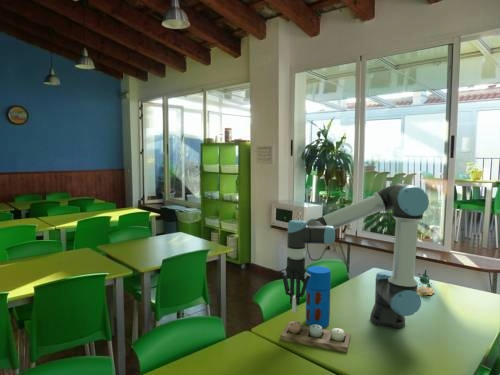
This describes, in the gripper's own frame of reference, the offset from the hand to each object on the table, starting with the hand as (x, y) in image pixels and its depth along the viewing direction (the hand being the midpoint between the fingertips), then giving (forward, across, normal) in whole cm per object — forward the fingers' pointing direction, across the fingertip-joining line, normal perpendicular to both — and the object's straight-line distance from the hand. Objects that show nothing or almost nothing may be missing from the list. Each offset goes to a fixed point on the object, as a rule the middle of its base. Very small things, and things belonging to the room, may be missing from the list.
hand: (294, 311), depth 158 cm
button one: (+8, -18, 0) cm, 20 cm away
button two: (+8, -9, 0) cm, 12 cm away
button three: (+8, 0, 0) cm, 8 cm away
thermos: (+11, -7, -16) cm, 20 cm away
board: (+11, -9, 0) cm, 14 cm away
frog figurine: (+10, -57, -76) cm, 95 cm away
